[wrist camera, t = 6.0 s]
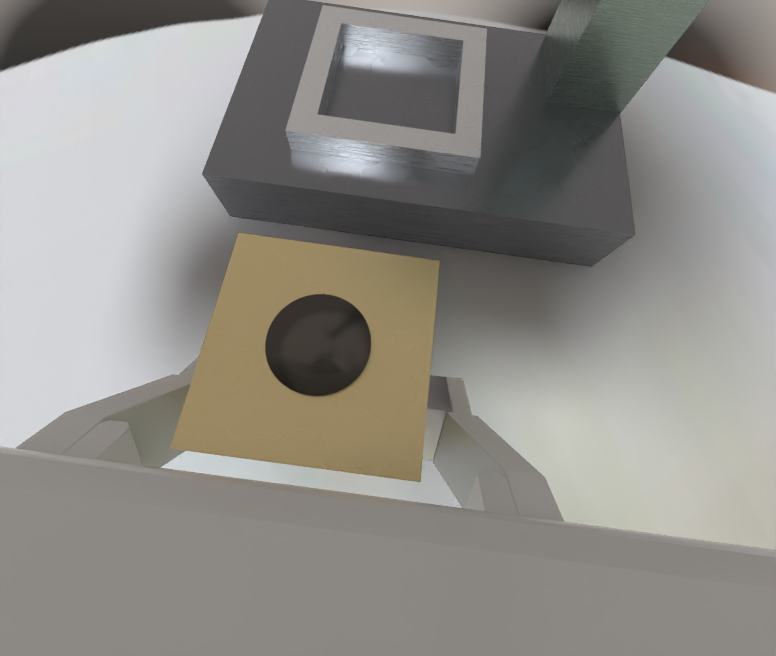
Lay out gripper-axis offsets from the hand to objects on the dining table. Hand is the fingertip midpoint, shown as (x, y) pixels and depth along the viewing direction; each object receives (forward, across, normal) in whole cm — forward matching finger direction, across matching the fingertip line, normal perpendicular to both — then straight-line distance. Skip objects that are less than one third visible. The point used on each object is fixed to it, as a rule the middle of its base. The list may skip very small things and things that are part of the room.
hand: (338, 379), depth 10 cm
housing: (+4, 0, +4) cm, 5 cm away
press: (+16, -2, -9) cm, 18 cm away
